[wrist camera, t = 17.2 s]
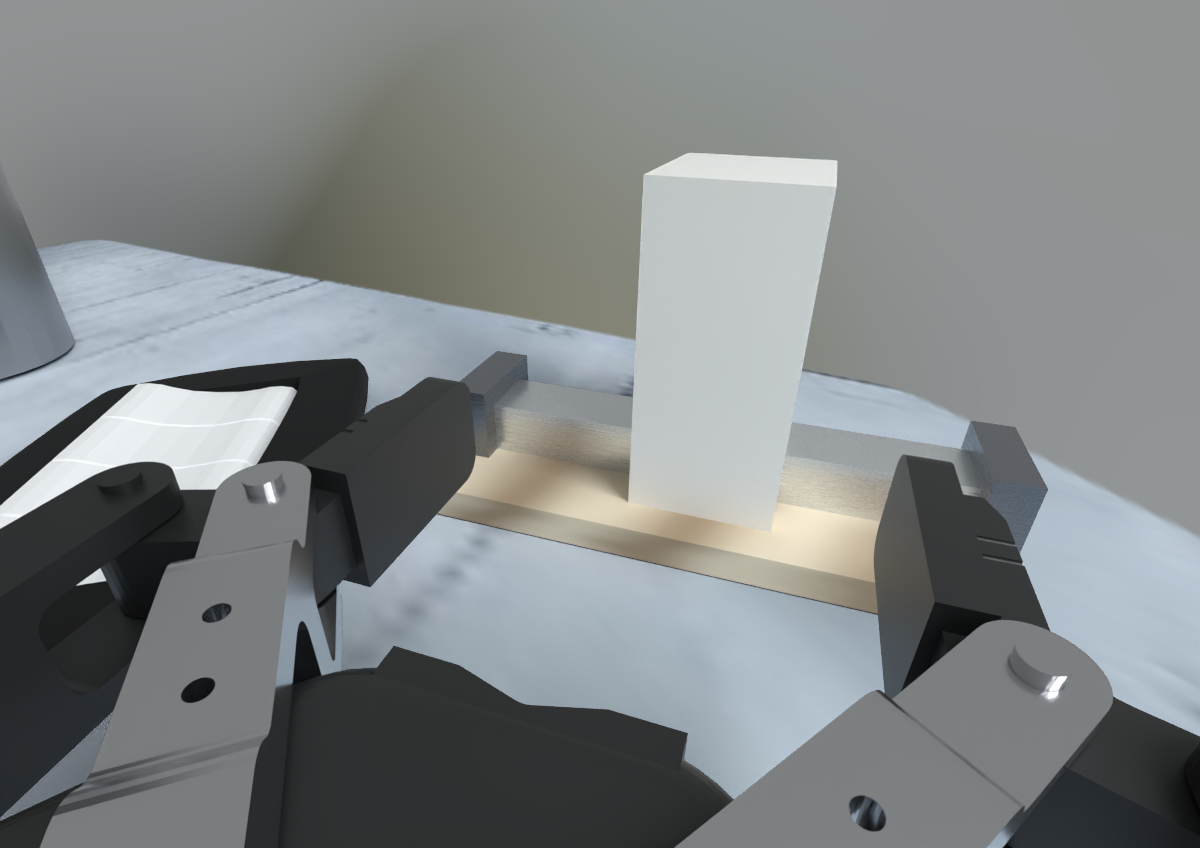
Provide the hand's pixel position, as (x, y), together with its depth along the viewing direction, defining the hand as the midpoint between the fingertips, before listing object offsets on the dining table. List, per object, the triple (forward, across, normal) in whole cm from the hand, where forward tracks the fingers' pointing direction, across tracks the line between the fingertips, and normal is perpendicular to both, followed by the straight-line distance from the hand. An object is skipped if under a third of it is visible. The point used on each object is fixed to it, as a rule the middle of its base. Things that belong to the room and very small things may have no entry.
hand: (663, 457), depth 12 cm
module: (+11, 0, -7) cm, 13 cm away
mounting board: (+11, 0, -8) cm, 14 cm away
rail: (+11, 0, -7) cm, 13 cm away
